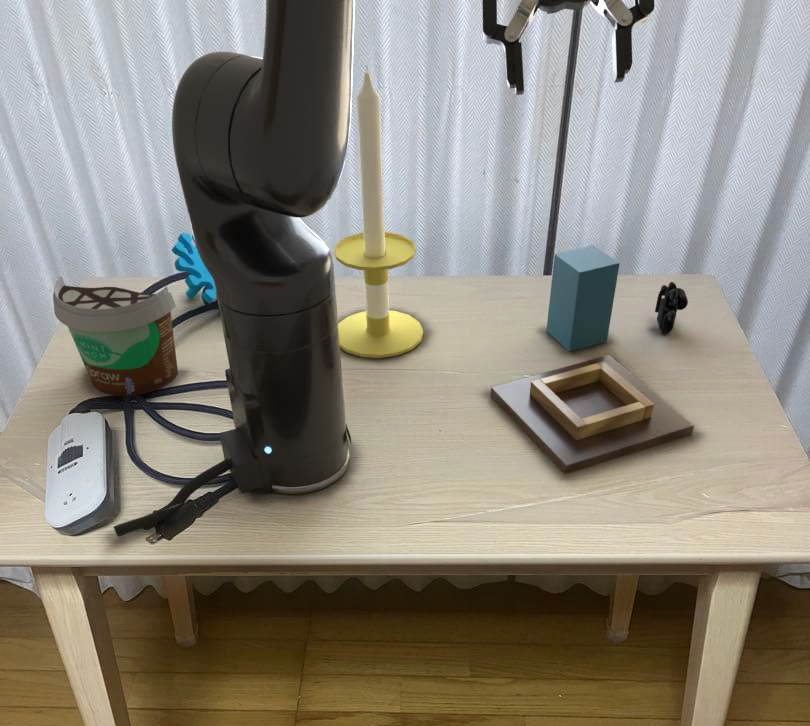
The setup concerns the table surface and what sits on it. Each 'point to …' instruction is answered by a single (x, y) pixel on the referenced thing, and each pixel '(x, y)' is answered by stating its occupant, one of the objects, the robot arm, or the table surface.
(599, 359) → the square wooden socket base
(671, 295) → the wireless earbuds
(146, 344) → the food container
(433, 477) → the table surface
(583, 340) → the post block
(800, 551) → the table surface
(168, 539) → the table surface
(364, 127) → the candle
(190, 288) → the blue branched piece
